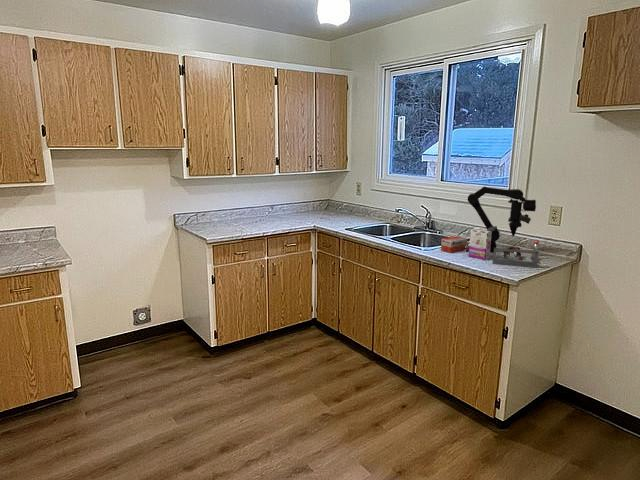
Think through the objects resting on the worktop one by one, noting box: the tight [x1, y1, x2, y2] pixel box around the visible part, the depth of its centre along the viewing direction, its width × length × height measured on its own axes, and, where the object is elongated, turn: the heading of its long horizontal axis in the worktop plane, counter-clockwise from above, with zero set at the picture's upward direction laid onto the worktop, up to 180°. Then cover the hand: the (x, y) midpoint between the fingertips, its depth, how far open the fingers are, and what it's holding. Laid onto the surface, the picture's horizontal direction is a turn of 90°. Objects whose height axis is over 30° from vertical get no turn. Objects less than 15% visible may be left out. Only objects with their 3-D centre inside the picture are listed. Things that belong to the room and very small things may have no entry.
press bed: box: [492, 247, 539, 269], centre depth 233 cm, size 22×6×9 cm, turn 69°
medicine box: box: [440, 235, 468, 254], centre depth 264 cm, size 15×8×8 cm, turn 122°
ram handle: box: [530, 239, 540, 258], centre depth 244 cm, size 3×3×10 cm
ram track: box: [529, 255, 541, 264], centre depth 243 cm, size 4×14×1 cm, turn 159°
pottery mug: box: [502, 245, 523, 261], centre depth 247 cm, size 12×10×8 cm
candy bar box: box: [468, 228, 492, 261], centre depth 246 cm, size 11×5×16 cm, turn 40°
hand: (513, 235), depth 256 cm, fingers closed
